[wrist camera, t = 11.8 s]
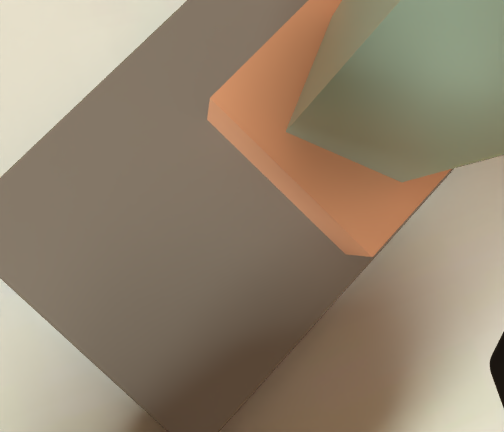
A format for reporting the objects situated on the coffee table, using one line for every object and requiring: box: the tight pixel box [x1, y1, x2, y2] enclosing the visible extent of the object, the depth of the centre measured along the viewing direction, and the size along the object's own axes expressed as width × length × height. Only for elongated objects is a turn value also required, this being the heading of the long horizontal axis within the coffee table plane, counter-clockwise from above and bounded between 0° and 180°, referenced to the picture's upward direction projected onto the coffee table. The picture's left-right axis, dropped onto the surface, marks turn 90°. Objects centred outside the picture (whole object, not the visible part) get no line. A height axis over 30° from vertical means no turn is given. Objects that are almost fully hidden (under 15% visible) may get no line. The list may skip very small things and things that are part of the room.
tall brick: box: [286, 0, 504, 182], centre depth 11 cm, size 5×5×12 cm
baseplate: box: [0, 0, 454, 432], centre depth 19 cm, size 20×13×4 cm, turn 136°
